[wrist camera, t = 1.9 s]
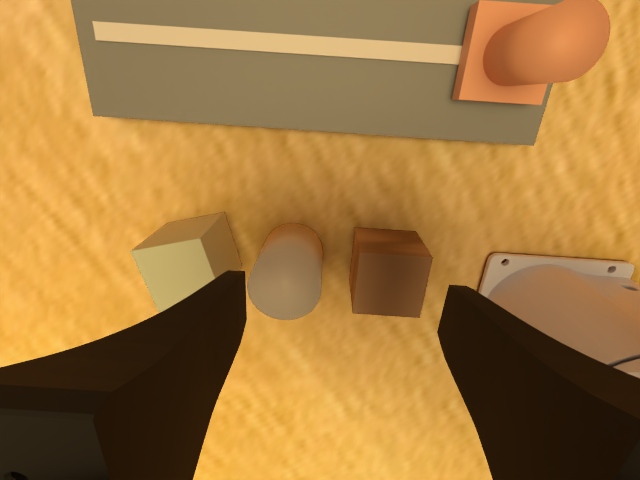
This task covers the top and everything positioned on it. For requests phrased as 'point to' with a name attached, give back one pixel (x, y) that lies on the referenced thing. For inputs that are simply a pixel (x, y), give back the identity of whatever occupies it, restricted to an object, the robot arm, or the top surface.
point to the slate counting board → (293, 66)
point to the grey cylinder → (287, 273)
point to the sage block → (185, 257)
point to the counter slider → (528, 48)
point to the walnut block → (388, 272)
